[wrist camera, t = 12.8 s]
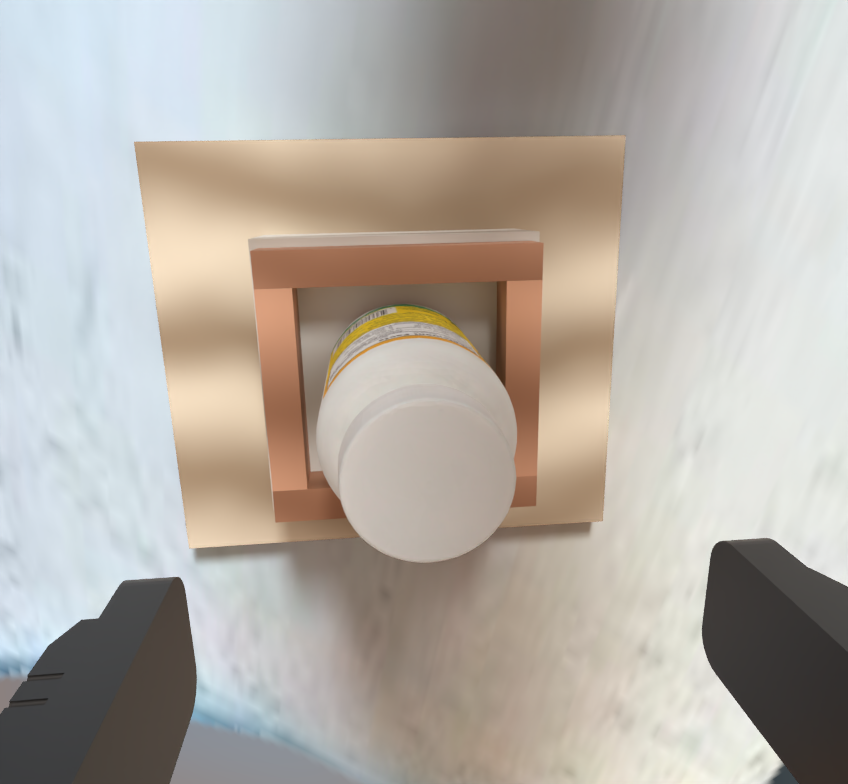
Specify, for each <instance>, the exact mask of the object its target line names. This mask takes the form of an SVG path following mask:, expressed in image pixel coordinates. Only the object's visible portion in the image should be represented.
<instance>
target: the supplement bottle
mask: <svg viewBox="0 0 848 784" xmlns="http://www.w3.org/2000/svg"><path fill="white" fill-rule="evenodd" d="M316 445H317V453H318V458H319V462H320V465H321V468H322V471H323V474H324V476H325V478H326V480H327V482H328V484H329V485H330V487H331V489H332V490H333V492H334V493H335V494H336V496H337V497H338V498H339V499H340V500H341V504H342V507H343V510H344V512H345V515H346V517H347V519H348V521H349V522H350V524H351V525H352V527H353V528H354V530H355V531H356V532H357V533H358V534H359V536H360V537H361V538H362V539H363V540H364V541H365V542H367V543H368V544H369V545H371V546H372V547H373V548H375V549H376V550H378V551H380V552H382V553H384V554H386V555H388V556H390V557H393V558H396V559H400V560H404V561H409V562H419V563H432V562H438V561H444V560H449V559H452V558H456V557H459V556H461V555H464V554H466V553H468V552H469V551H471V550H473V549H475V548H476V547H478V546H479V545H481V544H482V543H483V542H484V541H486V540H487V539H488V538H489V537H490V536H491V535H492V534H493V533H494V532H495V531H496V530H497V528H498V527H499V526H500V524H501V523H502V522H503V520H504V518H505V517H506V515H507V513H508V511H509V508H510V506H511V503H512V500H513V497H514V493H515V486H516V468H515V462H514V456H515V451H516V445H517V423H516V418H515V413H514V409H513V405H512V403H511V400H510V397H509V395H508V393H507V391H506V389H505V387H504V386H503V384H502V382H501V381H500V379H499V378H498V376H497V375H496V374H495V372H494V371H493V370H492V369H491V367H490V366H489V365H488V364H487V362H486V361H485V360H484V359H483V358H482V356H481V355H480V354H479V353H478V351H477V350H476V349H475V347H474V346H473V345H472V344H471V342H470V341H469V340H468V339H467V337H466V336H465V335H464V334H463V332H462V331H461V330H460V329H459V328H458V327H457V326H456V324H454V323H453V322H452V321H451V320H450V319H449V318H447V317H446V316H445V315H443V314H442V313H440V312H438V311H436V310H434V309H431V308H429V307H426V306H422V305H418V304H410V303H395V304H389V305H384V306H380V307H377V308H374V309H372V310H370V311H368V312H366V313H364V314H363V315H361V316H360V317H358V318H357V319H356V320H354V321H353V322H352V323H351V324H350V325H349V326H348V327H347V328H346V329H345V330H344V331H343V333H342V334H341V336H340V337H339V339H338V340H337V342H336V344H335V346H334V348H333V350H332V353H331V356H330V360H329V365H328V370H327V376H326V381H325V386H324V391H323V396H322V401H321V406H320V410H319V415H318V421H317V427H316Z"/></svg>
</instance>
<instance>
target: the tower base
mask: <svg viewBox="0 0 848 784" xmlns="http://www.w3.org/2000/svg"><path fill="white" fill-rule="evenodd" d="M625 137H626V135H616V136H540V137H465V138H389V139H313V140H238V141H162V142H134V145H135V152H136V160H137V167H138V174H139V182H140V189H141V196H142V204H143V211H144V219H145V226H146V233H147V241H148V248H149V255H150V263H151V270H152V278H153V285H154V292H155V300H156V307H157V314H158V322H159V329H160V336H161V344H162V351H163V359H164V366H165V373H166V381H167V388H168V395H169V403H170V410H171V418H172V425H173V432H174V440H175V447H176V454H177V462H178V469H179V477H180V484H181V491H182V499H183V506H184V513H185V521H186V528H187V536H188V543H189V549H190V548H205V547H220V546H235V545H250V544H265V543H280V542H295V541H310V540H325V539H340V538H356V537H360V536H359V534H358V533H357V532H356V531H355V530H354V528H353V527H352V525H351V524H350V522H349V521H348V519H347V517H346V515H345V512H344V510H343V507H342V504H341V500H340V499H339V498H338V497H337V496H336V494H335V493H334V492H333V490H332V489H331V487H330V485H329V484H328V482H327V480H326V478H325V476H324V474H323V471H322V468H321V465H320V462H319V458H318V453H317V445H316V427H317V421H318V415H319V410H320V406H321V401H322V396H323V391H324V386H325V381H326V376H327V370H328V365H329V360H330V356H331V353H332V350H333V348H334V346H335V344H336V342H337V340H338V339H339V337H340V336H341V334H342V333H343V331H344V330H345V329H346V328H347V327H348V326H349V325H350V324H351V323H352V322H353V321H354V320H356V319H357V318H358V317H360V316H361V315H363V314H364V313H366V312H368V311H370V310H372V309H374V308H377V307H380V306H384V305H389V304H395V303H410V304H418V305H422V306H426V307H429V308H431V309H434V310H436V311H438V312H440V313H442V314H443V315H445V316H446V317H447V318H449V319H450V320H451V321H452V322H453V323H454V324H456V326H457V327H458V328H459V329H460V330H461V331H462V332H463V334H464V335H465V336H466V337H467V339H468V340H469V341H470V342H471V344H472V345H473V346H474V347H475V349H476V350H477V351H478V353H479V354H480V355H481V356H482V358H483V359H484V360H485V361H486V362H487V364H488V365H489V366H490V367H491V369H492V370H493V371H494V372H495V374H496V375H497V376H498V378H499V379H500V381H501V382H502V384H503V386H504V387H505V389H506V391H507V393H508V395H509V397H510V400H511V403H512V405H513V409H514V413H515V418H516V423H517V445H516V451H515V456H514V462H515V468H516V486H515V493H514V497H513V500H512V503H511V506H510V508H509V511H508V513H507V515H506V517H505V518H504V520H503V522H502V523H501V524H500V526H499V527H498V528H506V527H521V526H536V525H551V524H567V523H582V522H597V521H603V507H604V490H605V473H606V457H607V440H608V423H609V406H610V389H611V372H612V356H613V339H614V322H615V305H616V288H617V271H618V255H619V238H620V221H621V204H622V187H623V170H624V154H625Z"/></svg>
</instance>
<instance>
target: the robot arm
mask: <svg viewBox="0 0 848 784" xmlns="http://www.w3.org/2000/svg"><path fill="white" fill-rule="evenodd" d="M702 638H703V645H704V649H705V653H706V656H707V658H708V661H709V663H710V665H711V667H712V669H713V670H714V672H715V673H716V675H717V676H718V677H719V679H720V680H721V681H722V683H723V684H724V685H725V687H726V688H727V689H728V691H729V692H730V693H731V694H732V696H733V697H734V698H735V700H736V701H737V702H738V704H739V705H740V706H741V708H742V709H743V710H744V712H745V713H746V714H747V716H748V717H749V718H750V720H751V721H752V722H753V724H754V725H755V726H756V728H757V729H758V730H759V732H760V733H761V734H762V735H763V737H764V738H765V739H766V741H767V742H768V743H769V745H770V746H771V747H772V749H773V750H774V751H775V753H776V754H777V755H778V757H779V758H780V759H781V761H782V762H783V763H784V765H785V766H786V767H787V768H788V770H789V771H790V773H791V774H792V775H793V776H794V777H795V779H796V780H797V782H798V783H799V784H848V587H847V586H845V585H843V584H841V583H839V582H837V581H835V580H833V579H831V578H829V577H827V576H825V575H823V574H821V573H819V572H817V571H815V570H813V569H811V568H808V567H806V566H805V565H804V564H803V563H802V562H800V561H799V560H798V559H797V558H795V557H794V556H793V555H792V554H790V553H789V552H788V551H787V550H786V549H784V548H783V547H782V546H781V545H779V544H778V543H777V542H775V541H774V540H772V539H769V538H760V539H745V540H731V541H720V542H718V543H717V544H716V545H715V546H714V548H713V550H712V553H711V558H710V566H709V574H708V582H707V590H706V599H705V607H704V615H703V624H702ZM196 683H197V675H196V663H195V656H194V649H193V642H192V635H191V628H190V621H189V614H188V607H187V600H186V593H185V588H184V584H183V582H182V580H181V579H180V578H179V577H169V578H154V579H139V580H126V581H123V582H122V583H121V584H120V586H119V587H118V589H117V590H116V592H115V593H114V595H113V596H112V598H111V600H110V601H109V603H108V604H107V606H106V608H105V609H104V611H103V612H102V614H101V616H100V617H99V619H86V620H81V621H79V622H78V623H77V624H76V625H74V626H73V627H72V628H71V629H69V630H68V631H67V632H65V633H64V634H63V635H62V636H60V637H59V638H58V639H56V640H55V641H54V642H53V643H51V644H50V645H49V646H48V647H47V649H46V650H45V651H44V653H43V654H42V656H41V657H40V659H39V660H38V661H37V663H36V664H35V666H34V667H33V668H32V670H31V671H30V673H29V674H28V679H27V681H26V682H23V683H22V684H21V686H20V687H19V688H18V690H17V691H16V693H15V694H14V696H13V697H12V699H11V700H10V704H9V708H5V709H4V710H3V711H2V713H1V714H0V784H169V783H170V781H171V777H172V774H173V771H174V768H175V765H176V762H177V759H178V756H179V753H180V750H181V747H182V744H183V741H184V738H185V735H186V732H187V729H188V725H189V723H190V720H191V716H192V713H193V709H194V703H195V696H196Z"/></svg>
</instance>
